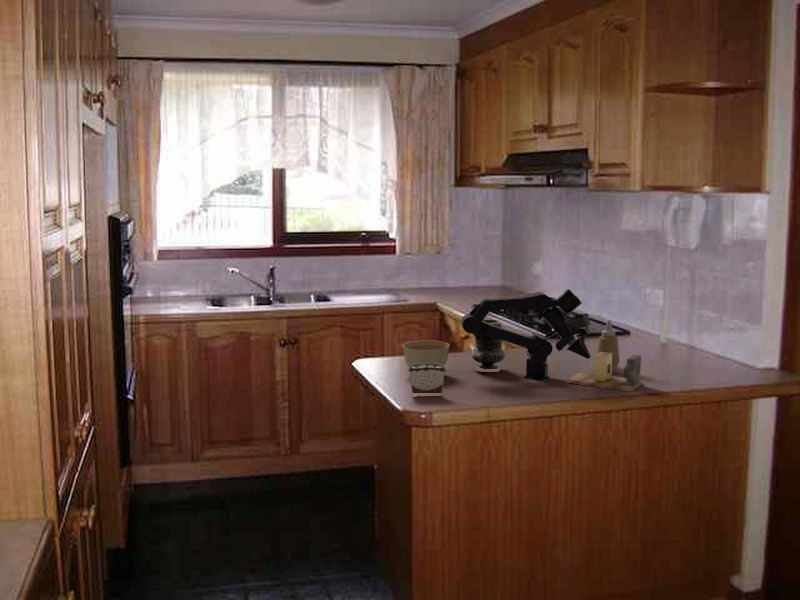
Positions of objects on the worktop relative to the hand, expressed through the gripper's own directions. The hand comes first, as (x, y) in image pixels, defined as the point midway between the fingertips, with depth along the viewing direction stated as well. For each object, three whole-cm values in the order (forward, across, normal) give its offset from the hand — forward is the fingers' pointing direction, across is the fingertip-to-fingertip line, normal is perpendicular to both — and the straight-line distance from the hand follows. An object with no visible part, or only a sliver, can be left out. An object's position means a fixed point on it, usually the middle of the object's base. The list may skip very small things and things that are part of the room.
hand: (589, 357), depth 290 cm
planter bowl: (-31, -20, +43) cm, 56 cm away
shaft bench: (+10, 0, +2) cm, 10 cm away
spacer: (+8, 0, +1) cm, 8 cm away
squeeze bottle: (+6, +18, +6) cm, 20 cm away
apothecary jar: (-20, -2, +32) cm, 38 cm away
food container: (-22, -42, +34) cm, 58 cm away
